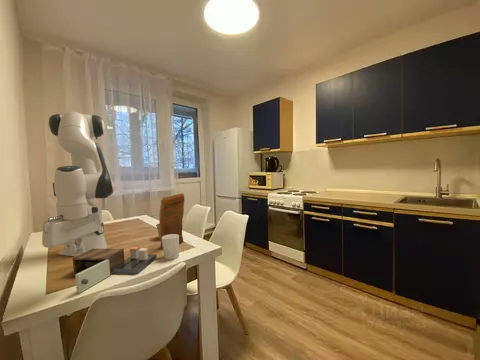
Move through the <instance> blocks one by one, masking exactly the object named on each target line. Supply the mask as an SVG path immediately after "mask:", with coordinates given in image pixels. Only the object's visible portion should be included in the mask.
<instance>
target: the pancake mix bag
mask: <svg viewBox="0 0 480 360" xmlns="http://www.w3.org/2000/svg"><path fill="white" fill-rule="evenodd" d="M184 207H185V194H184V193H183V192H182V193H177V194H173V195H168V196H164V197H162V199H161V200H160V209H159V223H158V224H160V239H159V240H160V250H163V245H162V237H163V236H165V235H169V234H178V235H179V245H180V244H182V243H184V236H183V218H184V214H185V211H184V210H185V208H184Z"/></svg>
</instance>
